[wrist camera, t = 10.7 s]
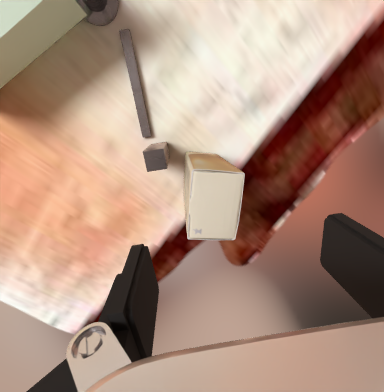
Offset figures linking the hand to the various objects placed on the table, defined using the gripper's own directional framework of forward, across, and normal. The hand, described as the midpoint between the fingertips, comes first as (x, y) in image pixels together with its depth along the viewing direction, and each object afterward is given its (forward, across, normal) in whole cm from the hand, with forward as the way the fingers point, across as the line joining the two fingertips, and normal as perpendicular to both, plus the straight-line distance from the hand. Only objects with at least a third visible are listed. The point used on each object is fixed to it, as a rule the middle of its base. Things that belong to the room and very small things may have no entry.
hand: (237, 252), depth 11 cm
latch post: (+19, +5, -9) cm, 21 cm away
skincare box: (+19, 0, +1) cm, 19 cm away
